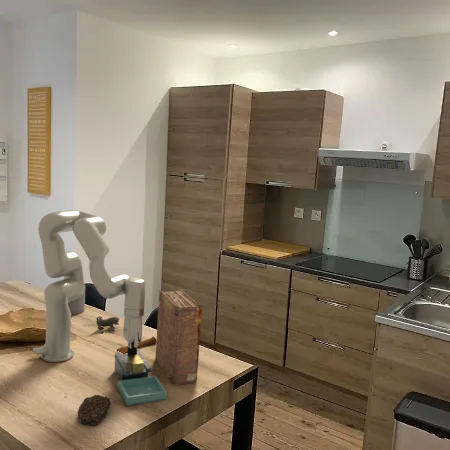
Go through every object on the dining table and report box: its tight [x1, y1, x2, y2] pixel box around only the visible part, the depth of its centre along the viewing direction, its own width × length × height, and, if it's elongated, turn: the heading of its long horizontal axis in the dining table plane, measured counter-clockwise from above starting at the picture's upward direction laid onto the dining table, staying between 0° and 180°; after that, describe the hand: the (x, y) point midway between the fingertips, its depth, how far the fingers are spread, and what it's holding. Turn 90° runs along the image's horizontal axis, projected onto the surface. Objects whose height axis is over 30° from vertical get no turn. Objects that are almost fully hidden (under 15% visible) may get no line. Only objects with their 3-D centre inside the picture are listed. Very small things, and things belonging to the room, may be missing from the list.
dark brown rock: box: [77, 394, 112, 427], centre depth 151 cm, size 12×10×5 cm
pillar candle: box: [68, 284, 86, 315], centre depth 249 cm, size 10×10×15 cm
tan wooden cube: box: [127, 354, 141, 367], centre depth 177 cm, size 4×4×3 cm
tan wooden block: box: [130, 359, 144, 372], centre depth 173 cm, size 4×4×3 cm
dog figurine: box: [95, 315, 120, 334], centre depth 226 cm, size 12×6×7 cm, turn 124°
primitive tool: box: [116, 336, 157, 354], centre depth 209 cm, size 19×6×4 cm, turn 137°
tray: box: [117, 375, 167, 407], centre depth 167 cm, size 14×13×3 cm
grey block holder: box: [114, 349, 153, 381], centre depth 179 cm, size 10×17×7 cm, turn 26°
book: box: [155, 289, 203, 386], centre depth 187 cm, size 25×9×30 cm, turn 24°
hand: (131, 357), depth 180 cm, fingers closed
